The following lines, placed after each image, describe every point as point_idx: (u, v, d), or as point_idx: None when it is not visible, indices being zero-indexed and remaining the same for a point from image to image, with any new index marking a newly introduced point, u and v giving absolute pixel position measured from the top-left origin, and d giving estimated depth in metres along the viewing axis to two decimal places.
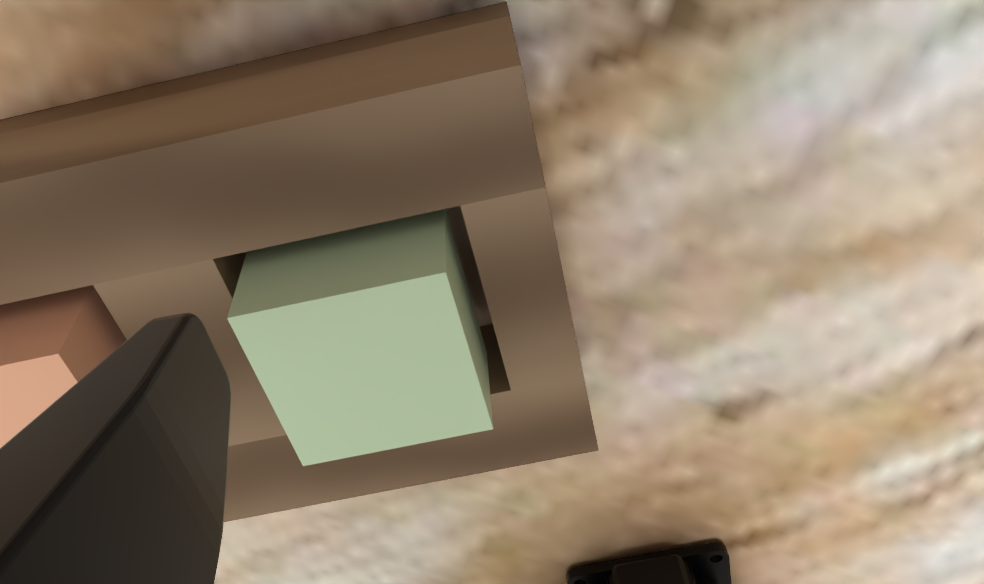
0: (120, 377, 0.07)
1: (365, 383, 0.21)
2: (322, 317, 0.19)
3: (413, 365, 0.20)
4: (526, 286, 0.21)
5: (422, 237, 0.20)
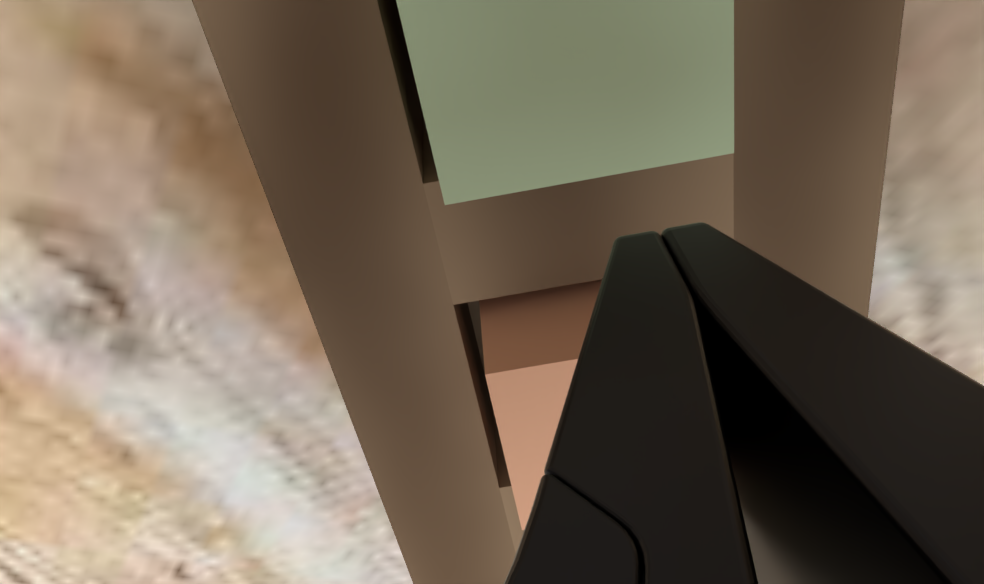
0: (651, 285, 0.07)
1: (583, 44, 0.13)
2: (450, 91, 0.14)
3: None
4: None
5: None
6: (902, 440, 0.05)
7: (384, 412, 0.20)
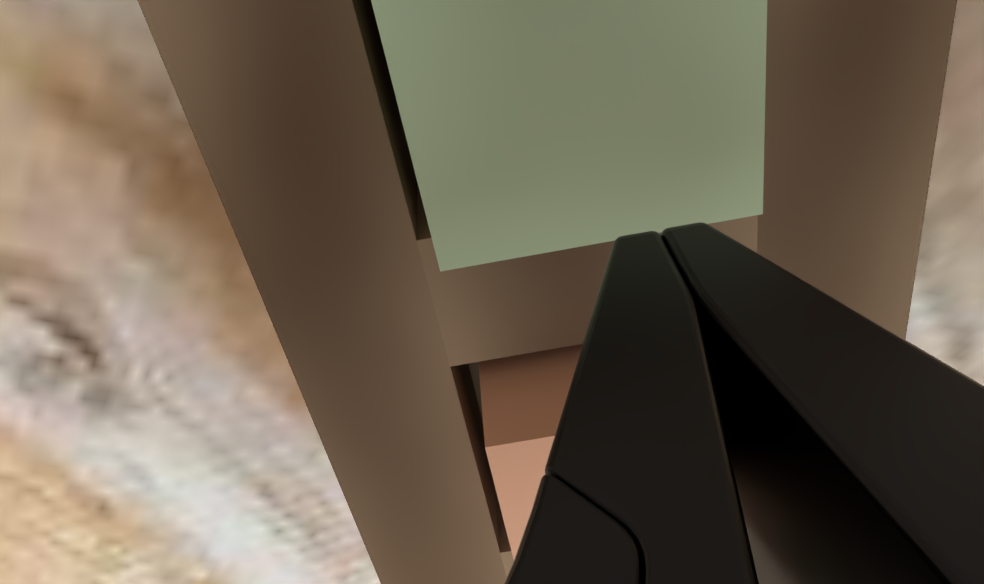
0: (652, 285, 0.07)
1: (596, 98, 0.12)
2: (446, 149, 0.12)
3: (565, 13, 0.11)
4: None
5: None
6: (902, 440, 0.05)
7: (375, 477, 0.19)
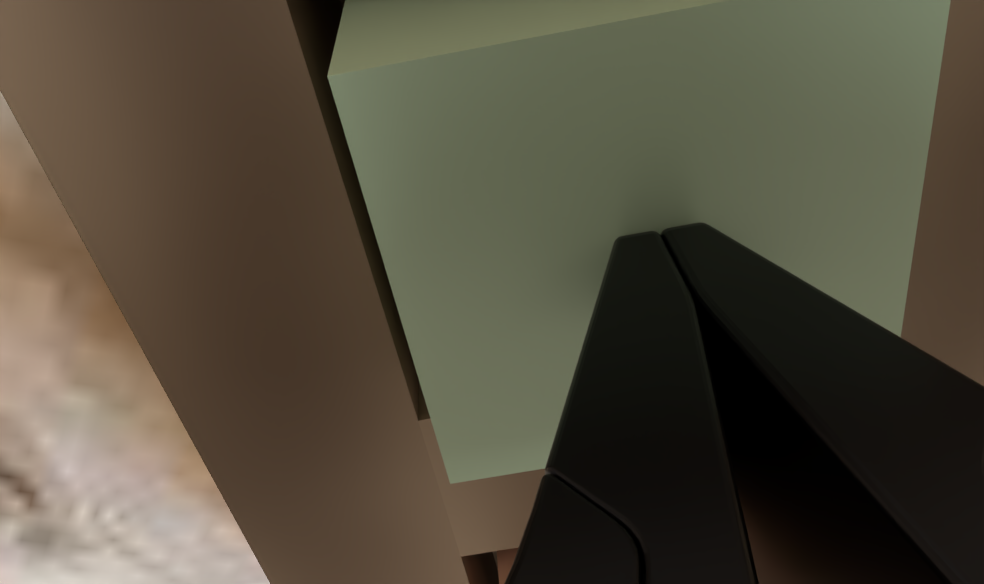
0: (652, 285, 0.07)
1: None
2: (461, 342, 0.09)
3: (636, 173, 0.08)
4: None
5: None
6: (902, 440, 0.05)
7: None
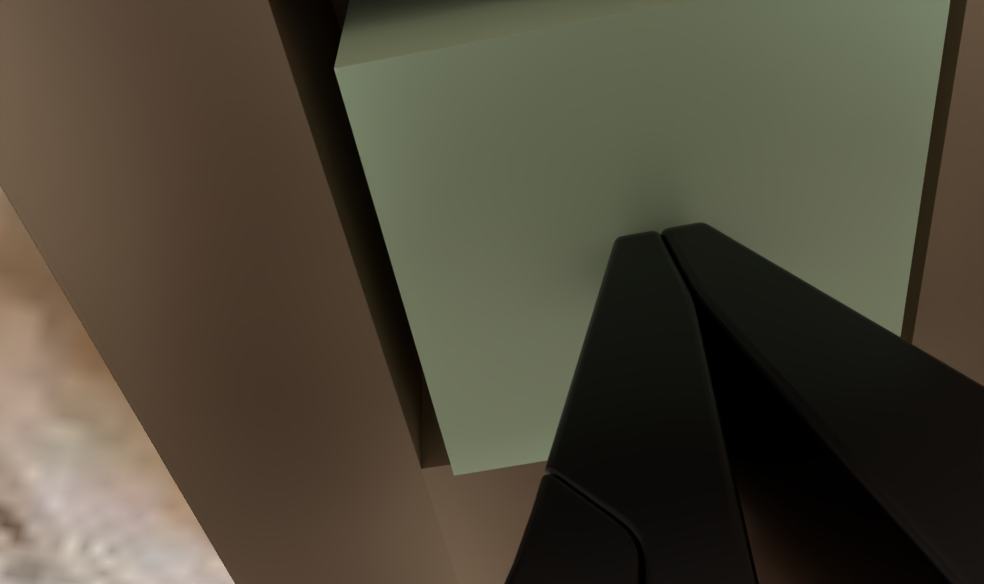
0: (652, 285, 0.07)
1: None
2: (465, 334, 0.09)
3: (639, 165, 0.08)
4: None
5: None
6: (902, 440, 0.05)
7: None
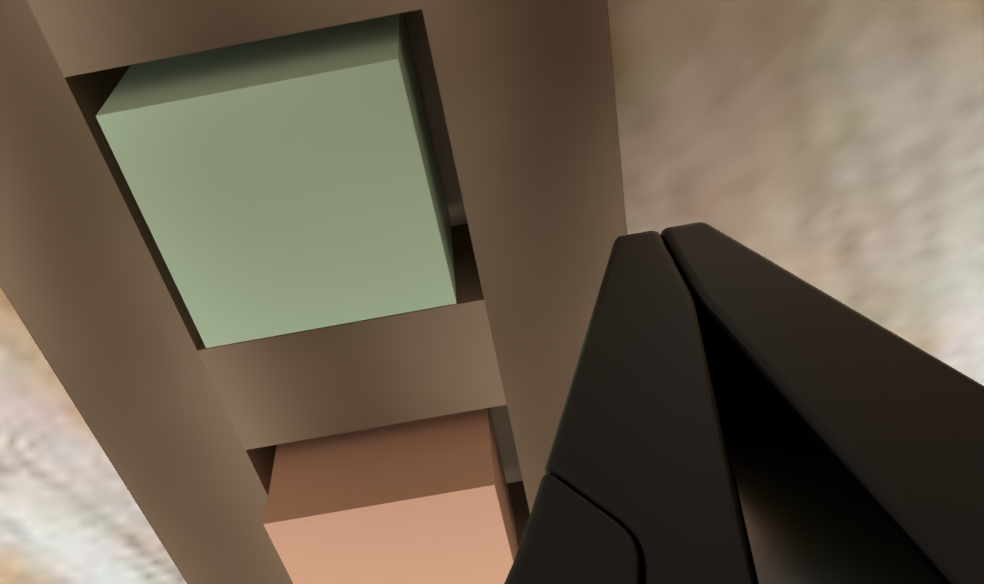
0: (652, 285, 0.07)
1: (304, 222, 0.15)
2: (193, 259, 0.16)
3: (267, 164, 0.15)
4: None
5: None
6: (902, 440, 0.05)
7: (196, 541, 0.21)
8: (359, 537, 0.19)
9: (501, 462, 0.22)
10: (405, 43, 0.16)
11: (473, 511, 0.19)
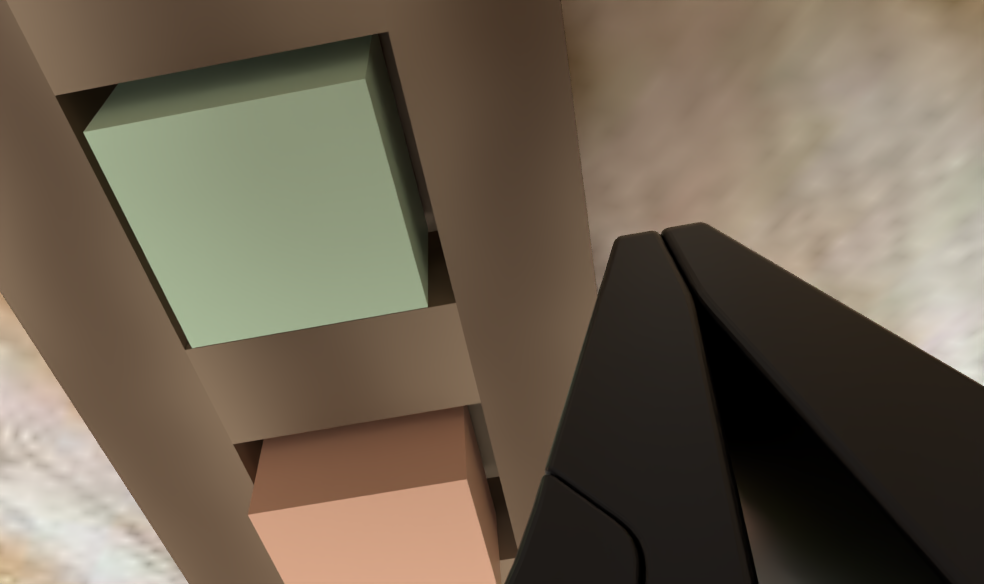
0: (652, 285, 0.07)
1: (281, 230, 0.16)
2: (178, 265, 0.17)
3: (245, 176, 0.16)
4: (177, 7, 0.14)
5: None
6: (901, 440, 0.05)
7: (188, 530, 0.22)
8: (339, 528, 0.20)
9: (480, 457, 0.23)
10: (377, 61, 0.17)
11: (447, 504, 0.20)
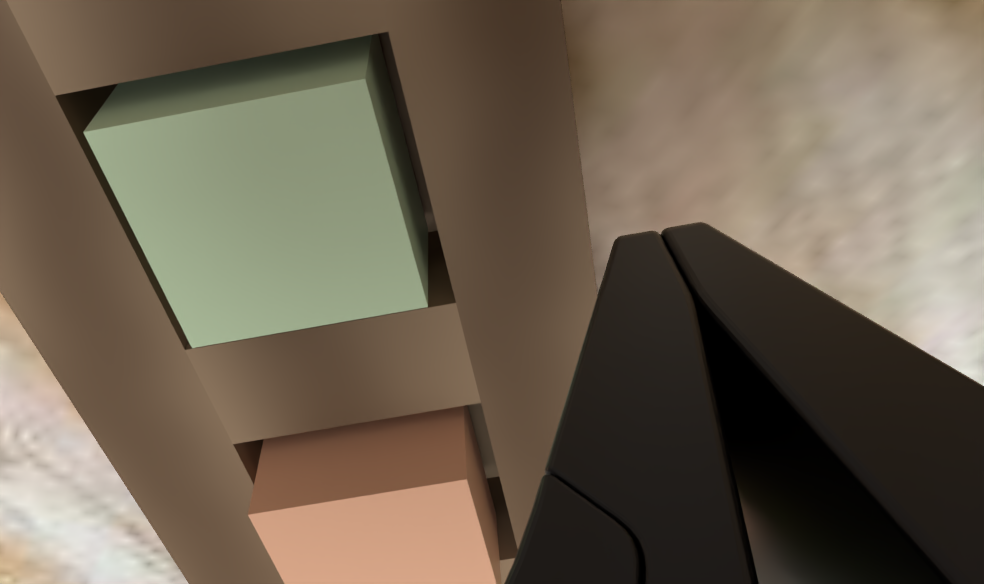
0: (652, 285, 0.07)
1: (281, 230, 0.16)
2: (178, 265, 0.17)
3: (245, 176, 0.16)
4: (177, 7, 0.14)
5: None
6: (901, 440, 0.05)
7: (188, 530, 0.22)
8: (339, 528, 0.20)
9: (480, 457, 0.23)
10: (377, 61, 0.17)
11: (447, 504, 0.20)
